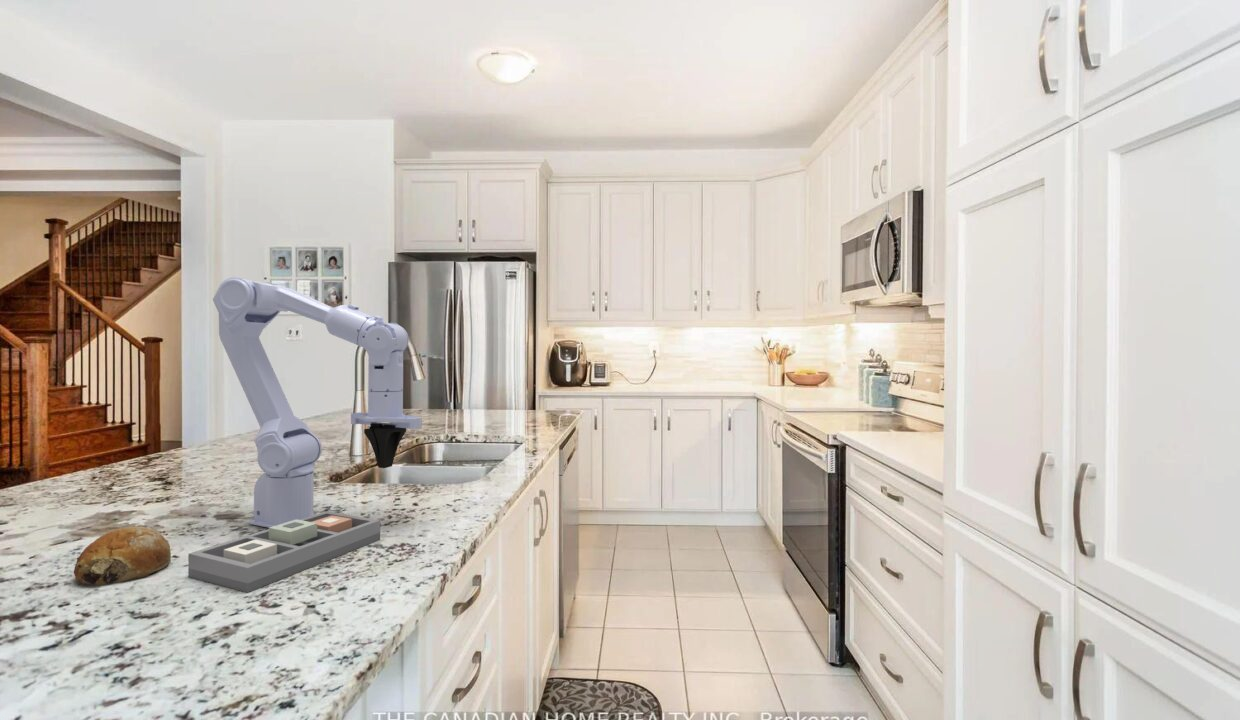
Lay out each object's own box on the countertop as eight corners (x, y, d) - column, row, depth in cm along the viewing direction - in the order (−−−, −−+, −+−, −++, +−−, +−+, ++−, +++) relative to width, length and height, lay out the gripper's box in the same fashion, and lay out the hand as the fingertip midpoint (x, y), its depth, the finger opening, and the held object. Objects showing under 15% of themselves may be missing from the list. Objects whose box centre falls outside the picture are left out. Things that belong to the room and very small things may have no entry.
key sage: (268, 541, 83) (268, 527, 83) (296, 532, 87) (296, 518, 87) (290, 545, 81) (290, 531, 81) (317, 536, 86) (317, 522, 86)
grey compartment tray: (188, 576, 76) (188, 553, 76) (327, 529, 97) (327, 511, 97) (247, 592, 72) (247, 568, 72) (380, 539, 92) (380, 520, 92)
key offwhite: (223, 564, 77) (223, 548, 77) (255, 553, 81) (255, 538, 81) (245, 569, 75) (245, 554, 75) (276, 558, 80) (277, 543, 80)
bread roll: (174, 594, 79) (199, 535, 83) (94, 589, 71) (126, 524, 74) (128, 583, 83) (154, 527, 86) (46, 577, 74) (78, 516, 77)
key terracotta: (307, 535, 89) (307, 522, 89) (331, 527, 93) (331, 514, 93) (328, 539, 87) (328, 526, 87) (351, 531, 92) (352, 518, 92)
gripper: (336, 390, 98) (336, 467, 99) (400, 394, 93) (400, 475, 93) (368, 387, 105) (368, 460, 105) (430, 391, 99) (429, 467, 100)
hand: (385, 466), depth 100 cm, fingers closed
